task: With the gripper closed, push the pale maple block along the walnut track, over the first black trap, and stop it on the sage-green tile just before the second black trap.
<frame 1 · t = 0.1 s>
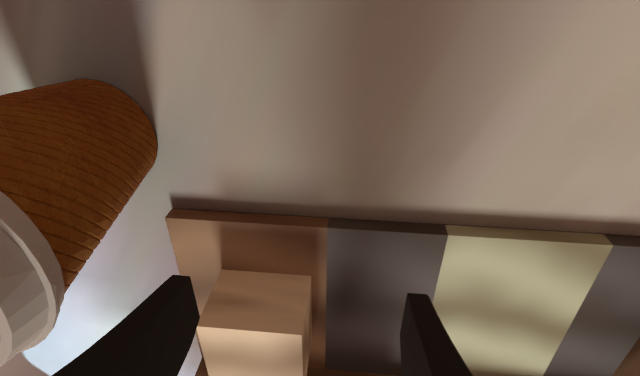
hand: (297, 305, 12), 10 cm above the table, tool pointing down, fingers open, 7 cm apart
disposable coffee cup: (105, 132, 21), on the table
maple block: (269, 304, 26), point 1 cm above the table, touching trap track
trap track: (412, 303, 26), on the table
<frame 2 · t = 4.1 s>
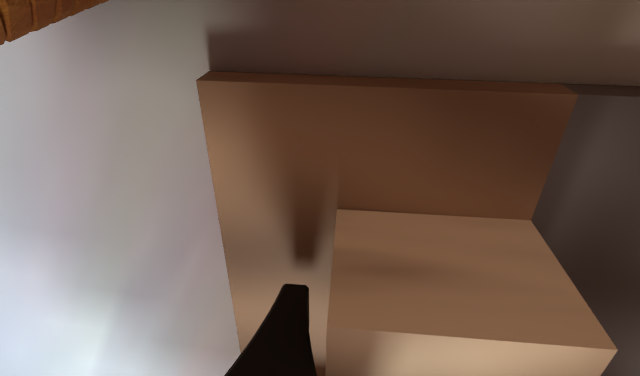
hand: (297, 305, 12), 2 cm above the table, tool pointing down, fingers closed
maple block: (417, 283, 13), point 1 cm above the table, touching gripper, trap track
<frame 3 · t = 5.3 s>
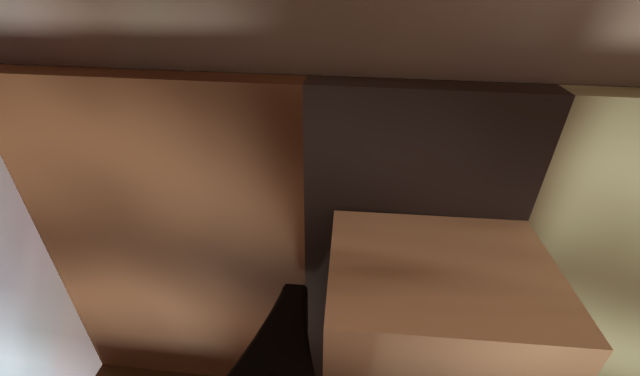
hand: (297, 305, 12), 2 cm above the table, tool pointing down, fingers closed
maple block: (415, 283, 13), point 1 cm above the table, touching gripper, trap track
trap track: (466, 268, 14), on the table
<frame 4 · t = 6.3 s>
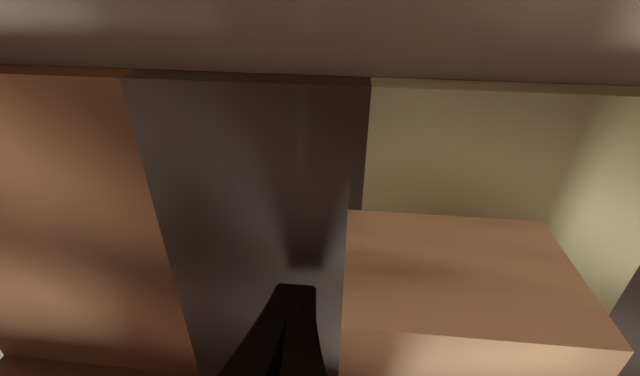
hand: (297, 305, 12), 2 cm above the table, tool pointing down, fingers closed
maple block: (428, 283, 13), point 1 cm above the table, touching gripper, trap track
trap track: (330, 258, 14), on the table
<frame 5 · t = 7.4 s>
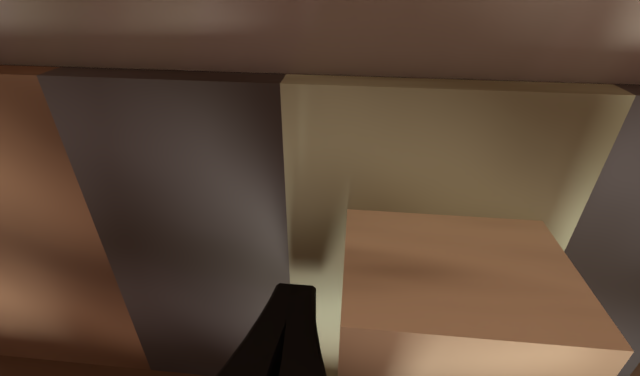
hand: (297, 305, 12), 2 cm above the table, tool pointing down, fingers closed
maple block: (427, 283, 13), point 1 cm above the table, touching gripper, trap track
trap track: (268, 254, 15), on the table
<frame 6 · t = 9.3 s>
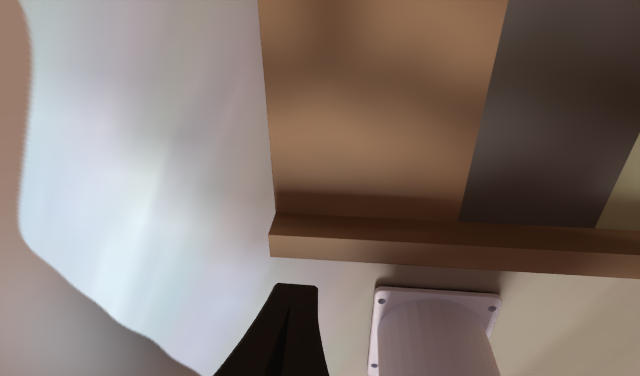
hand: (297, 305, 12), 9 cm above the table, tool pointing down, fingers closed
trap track: (617, 90, 17), on the table
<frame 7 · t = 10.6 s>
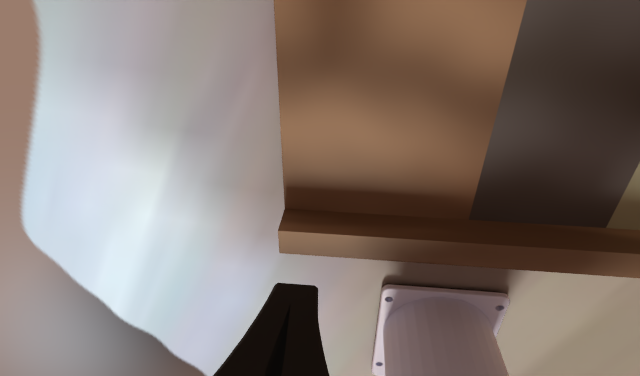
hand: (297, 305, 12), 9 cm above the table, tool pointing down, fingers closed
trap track: (633, 88, 17), on the table
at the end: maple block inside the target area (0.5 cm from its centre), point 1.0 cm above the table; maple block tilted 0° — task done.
